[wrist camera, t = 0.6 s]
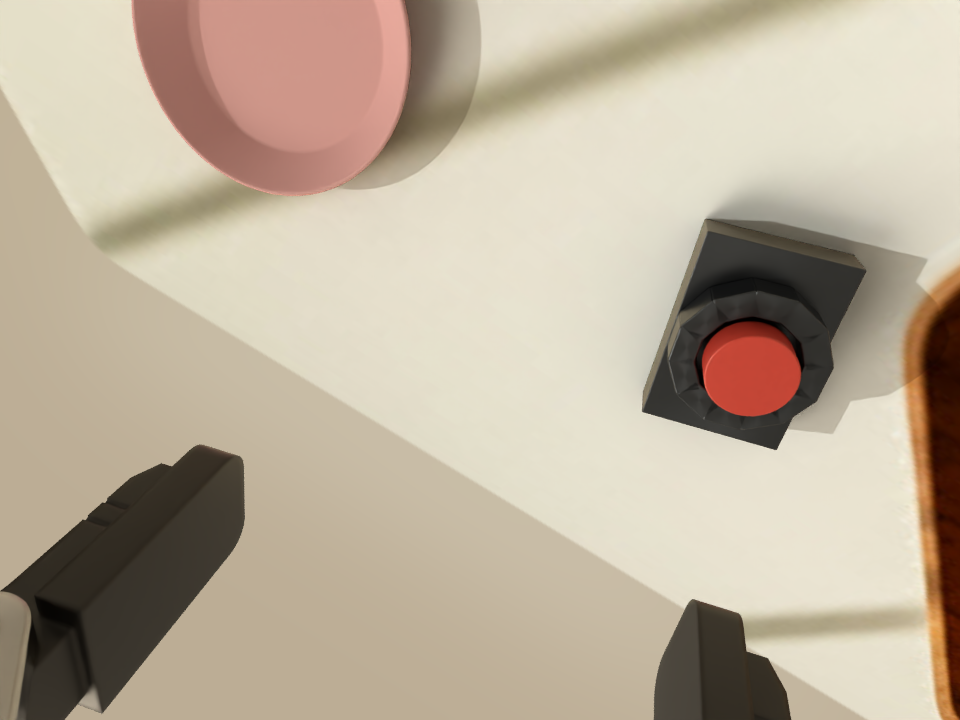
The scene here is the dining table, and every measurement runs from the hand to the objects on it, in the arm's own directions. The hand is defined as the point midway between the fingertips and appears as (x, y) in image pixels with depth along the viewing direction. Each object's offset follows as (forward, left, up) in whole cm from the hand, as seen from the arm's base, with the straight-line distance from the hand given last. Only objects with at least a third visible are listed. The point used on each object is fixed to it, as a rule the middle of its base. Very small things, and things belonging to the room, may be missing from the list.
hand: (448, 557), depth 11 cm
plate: (-4, -17, -25) cm, 30 cm away
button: (+4, +9, -21) cm, 23 cm away
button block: (+4, +9, -25) cm, 27 cm away
